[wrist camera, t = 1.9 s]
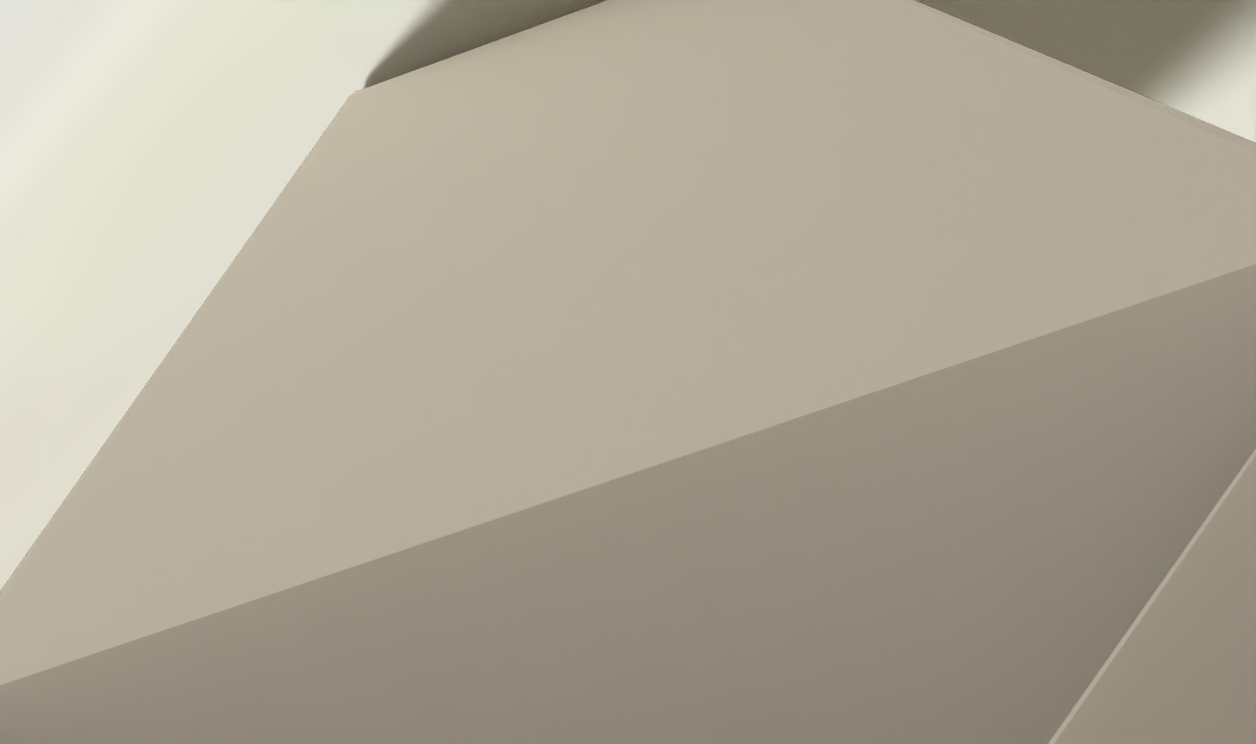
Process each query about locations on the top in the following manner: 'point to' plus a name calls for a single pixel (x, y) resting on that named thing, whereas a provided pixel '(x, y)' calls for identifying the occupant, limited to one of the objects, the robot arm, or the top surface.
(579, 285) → the milk carton
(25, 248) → the top surface
